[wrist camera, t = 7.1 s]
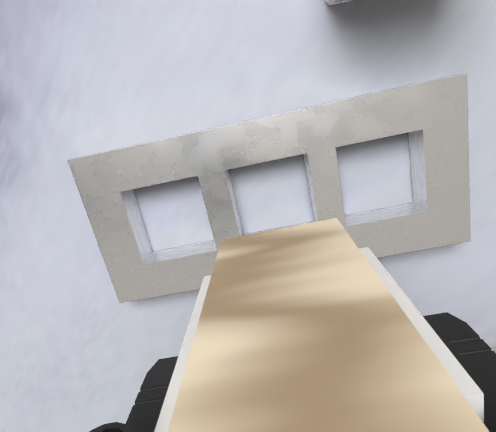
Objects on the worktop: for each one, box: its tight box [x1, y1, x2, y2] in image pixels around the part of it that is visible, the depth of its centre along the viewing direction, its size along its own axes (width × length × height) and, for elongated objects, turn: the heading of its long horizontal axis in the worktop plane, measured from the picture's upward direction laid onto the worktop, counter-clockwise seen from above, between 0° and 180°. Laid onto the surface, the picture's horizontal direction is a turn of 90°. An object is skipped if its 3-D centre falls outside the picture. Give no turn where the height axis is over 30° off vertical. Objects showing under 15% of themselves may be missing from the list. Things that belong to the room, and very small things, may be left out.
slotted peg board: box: [68, 74, 471, 303], centre depth 26 cm, size 28×12×3 cm, turn 102°
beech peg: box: [168, 218, 489, 432], centre depth 8 cm, size 4×4×12 cm
